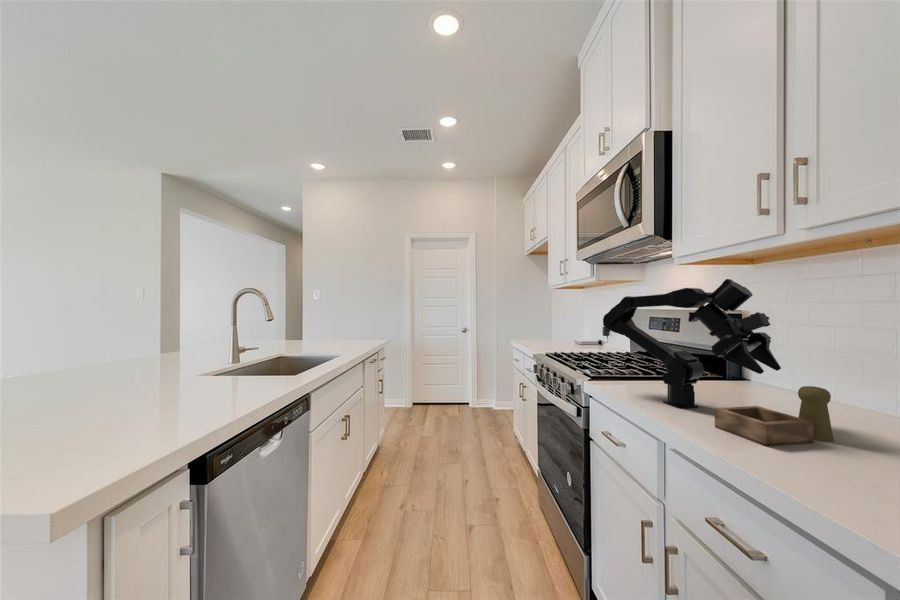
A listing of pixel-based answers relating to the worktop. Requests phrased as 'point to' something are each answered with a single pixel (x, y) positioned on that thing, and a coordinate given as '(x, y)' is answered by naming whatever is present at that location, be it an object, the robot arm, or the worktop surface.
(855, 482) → the worktop surface
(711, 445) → the worktop surface
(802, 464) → the worktop surface
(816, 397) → the cork
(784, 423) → the socket block
